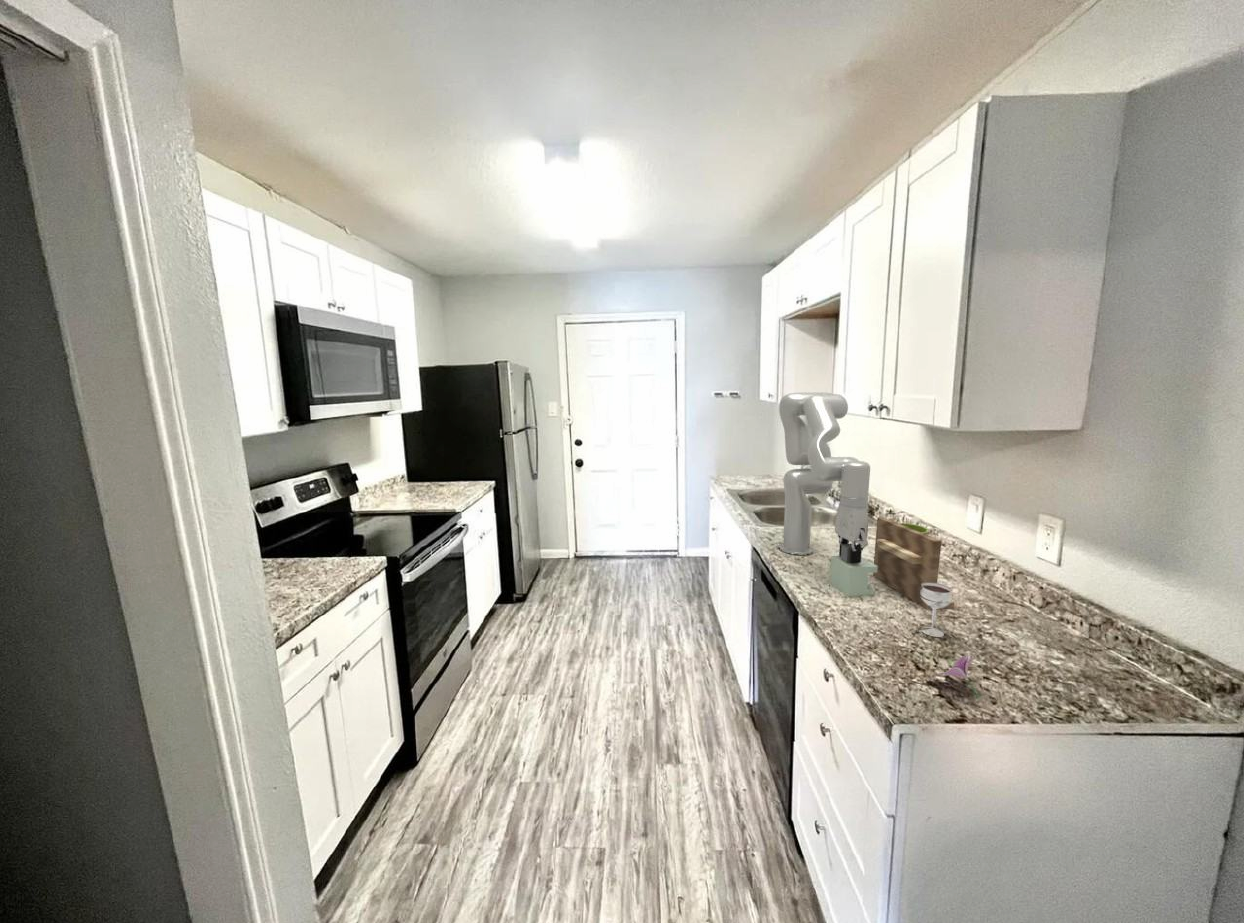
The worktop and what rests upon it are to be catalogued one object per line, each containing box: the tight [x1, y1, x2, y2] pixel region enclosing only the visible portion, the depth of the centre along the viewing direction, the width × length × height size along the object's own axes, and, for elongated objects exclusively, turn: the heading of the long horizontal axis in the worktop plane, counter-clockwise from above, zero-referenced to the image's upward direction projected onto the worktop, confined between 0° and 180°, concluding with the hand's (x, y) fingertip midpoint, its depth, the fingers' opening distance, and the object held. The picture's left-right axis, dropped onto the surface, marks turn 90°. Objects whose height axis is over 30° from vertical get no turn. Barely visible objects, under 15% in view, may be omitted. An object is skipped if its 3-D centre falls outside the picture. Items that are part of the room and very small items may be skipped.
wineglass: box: [920, 582, 953, 638], centre depth 118 cm, size 7×7×12 cm
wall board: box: [872, 516, 955, 610], centre depth 142 cm, size 24×10×20 cm, turn 7°
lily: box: [925, 649, 985, 699], centre depth 96 cm, size 12×12×10 cm
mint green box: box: [829, 543, 878, 597], centre depth 144 cm, size 10×9×14 cm
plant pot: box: [897, 522, 929, 535], centre depth 170 cm, size 12×12×11 cm
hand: (849, 558), depth 144 cm, fingers open, 4 cm apart
